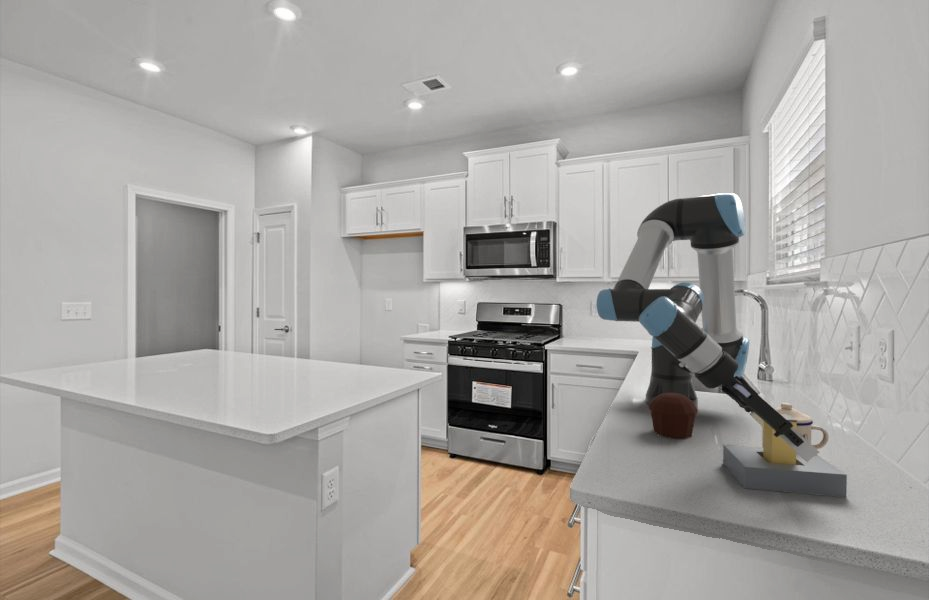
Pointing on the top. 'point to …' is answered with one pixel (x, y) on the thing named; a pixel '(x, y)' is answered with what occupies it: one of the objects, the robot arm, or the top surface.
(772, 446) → the plug
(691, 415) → the muffin
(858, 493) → the top surface
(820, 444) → the teacup with lid
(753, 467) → the socket plate
